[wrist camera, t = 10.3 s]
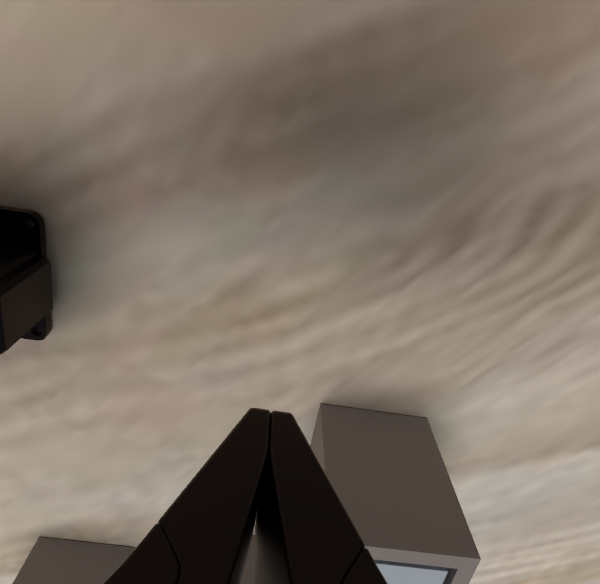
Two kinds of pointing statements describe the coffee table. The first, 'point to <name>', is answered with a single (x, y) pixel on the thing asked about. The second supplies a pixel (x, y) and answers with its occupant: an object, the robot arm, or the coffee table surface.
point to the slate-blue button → (411, 573)
